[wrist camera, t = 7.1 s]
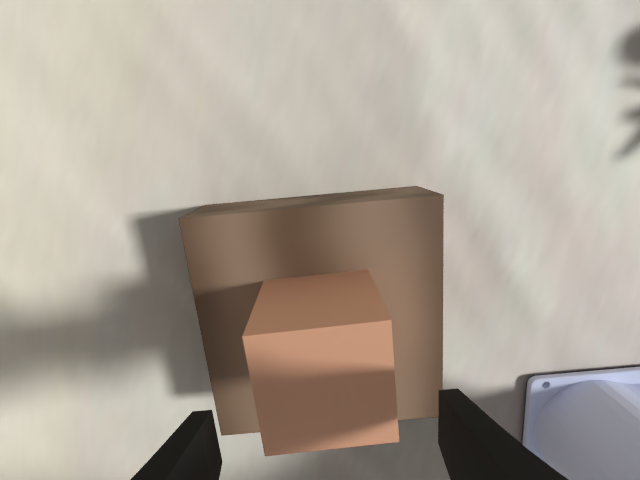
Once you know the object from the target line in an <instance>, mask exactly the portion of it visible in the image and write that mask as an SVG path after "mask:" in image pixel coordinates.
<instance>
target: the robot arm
mask: <svg viewBox="0 0 640 480" xmlns="http://www.w3.org/2000/svg"><path fill="white" fill-rule="evenodd" d="M544 382H545V383H544ZM543 383H544V384H543ZM438 443H439V446H440V450H441V453H442V456H443V459H444V462H445V465H446V467H447V470H448V473H449V476H450V479H451V480H640V367H630V368H618V369H607V370H596V371H584V372H573V373H561V374H550V375H538V376H533V377H531V378H530V379H529V380H528V382H527V394H526V406H525V419H524V431H523V444H521V443H520V442H519V441H517V440H516V439H515V438H514V437H513V436H511V435H510V434H509V433H508V432H507V431H505V430H504V429H503V428H502V427H501V426H500V425H498V424H497V423H496V422H495V421H494V420H493V419H491V418H490V417H489V416H488V415H487V414H486V413H485V412H484V411H482V410H481V409H480V408H479V407H478V406H477V405H476V404H475V403H473V402H472V401H471V400H470V399H469V398H468V397H467V396H466V395H464V394H463V393H462V392H461V391H460V390H459V389H449V390H439V421H438ZM221 466H222V458H221V453H220V448H219V443H218V438H217V433H216V428H215V423H214V418H213V413H212V410H206V411H194V412H192V413H191V414H190V415H189V416H188V417H187V418H186V420H185V421H184V422H183V423H182V424H181V425H180V426H179V427H178V428H177V430H176V431H175V432H174V433H173V434H172V435H171V436H170V437H169V439H168V440H167V441H166V442H165V443H164V444H163V445H162V446H161V448H160V449H159V450H158V451H157V452H156V453H155V454H154V455H153V456H152V457H151V458H150V460H149V461H148V462H147V463H146V464H145V465H144V466H143V467H142V468H141V469H140V470H139V471H138V473H137V474H136V475H135V476H134V477H133V478H132V479H131V480H219V476H220V471H221Z"/></svg>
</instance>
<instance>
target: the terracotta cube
mask: <svg viewBox="0 0 640 480" xmlns="http://www.w3.org/2000/svg"><path fill="white" fill-rule="evenodd" d="M242 338H243V343H244V348H245V354H246V359H247V364H248V369H249V375H250V380H251V385H252V390H253V396H254V401H255V406H256V411H257V417H258V422H259V427H260V432H261V438H262V443H263V448H264V453H265V456H272V455H281V454H290V453H300V452H309V451H319V450H328V449H337V448H347V447H356V446H366V445H375V444H384V443H394V442H399V430H398V415H397V399H396V383H395V368H394V352H393V337H392V321H391V318H390V316H389V314H388V311H387V309H386V307H385V305H384V303H383V301H382V298H381V296H380V294H379V292H378V290H377V288H376V286H375V283H374V281H373V279H372V277H371V275H370V273H369V270H368V269H366V270H357V271H348V272H340V273H331V274H322V275H313V276H304V277H295V278H286V279H277V280H268V281H263V284H262V286H261V289H260V292H259V294H258V297H257V299H256V302H255V305H254V307H253V310H252V312H251V315H250V318H249V320H248V323H247V325H246V328H245V330H244V333H243V336H242Z"/></svg>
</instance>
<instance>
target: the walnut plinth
mask: <svg viewBox="0 0 640 480" xmlns="http://www.w3.org/2000/svg"><path fill="white" fill-rule="evenodd" d="M443 196H444V195H442V194H439V193H436V192H433V191H430V190H427V189H424V188H421V187H418V186H413V187H402V188H391V189H379V190H368V191H357V192H346V193H335V194H324V195H313V196H301V197H290V198H279V199H268V200H257V201H246V202H235V203H223V204H212V205H205V206H203V207H201V208H199V209H197V210H195V211H193V212H191V213H189V214H187V215H185V216H183V217H181V218H179V223H180V228H181V233H182V238H183V243H184V248H185V253H186V258H187V264H188V269H189V274H190V279H191V284H192V289H193V294H194V299H195V304H196V309H197V314H198V319H199V325H200V330H201V335H202V340H203V345H204V350H205V355H206V360H207V365H208V370H209V375H210V380H211V385H212V391H213V396H214V401H215V406H216V411H217V416H218V421H219V426H220V431H221V435H233V434H244V433H256V432H260V427H259V422H258V417H257V411H256V406H255V401H254V396H253V390H252V385H251V380H250V375H249V369H248V364H247V359H246V354H245V348H244V343H243V338H242V336H243V333H244V330H245V328H246V325H247V323H248V320H249V318H250V315H251V312H252V310H253V307H254V305H255V302H256V299H257V297H258V294H259V292H260V289H261V286H262V284H263V281H268V280H277V279H286V278H295V277H304V276H313V275H322V274H331V273H340V272H348V271H357V270H366V269H368V270H369V273H370V275H371V277H372V279H373V281H374V283H375V286H376V288H377V290H378V292H379V294H380V296H381V298H382V301H383V303H384V305H385V307H386V309H387V311H388V314H389V316H390V318H391V321H392V337H393V352H394V368H395V383H396V399H397V415H398V420H406V419H417V418H429V417H439V390H442V377H443Z"/></svg>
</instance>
